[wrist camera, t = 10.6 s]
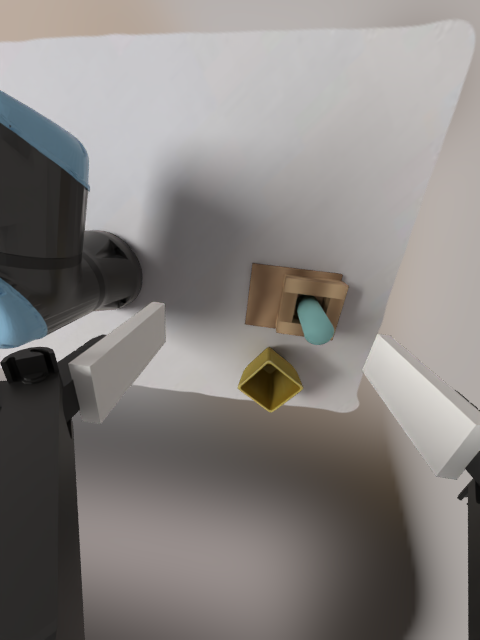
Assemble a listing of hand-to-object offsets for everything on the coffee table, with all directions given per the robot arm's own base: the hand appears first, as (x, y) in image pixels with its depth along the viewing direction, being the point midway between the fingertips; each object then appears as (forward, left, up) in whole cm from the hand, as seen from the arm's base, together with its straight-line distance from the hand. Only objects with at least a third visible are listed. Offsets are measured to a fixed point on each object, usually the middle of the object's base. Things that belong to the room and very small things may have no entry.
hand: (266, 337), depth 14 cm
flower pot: (+4, -21, -29) cm, 36 cm away
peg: (+8, -6, -28) cm, 30 cm away
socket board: (+6, -6, -29) cm, 30 cm away
